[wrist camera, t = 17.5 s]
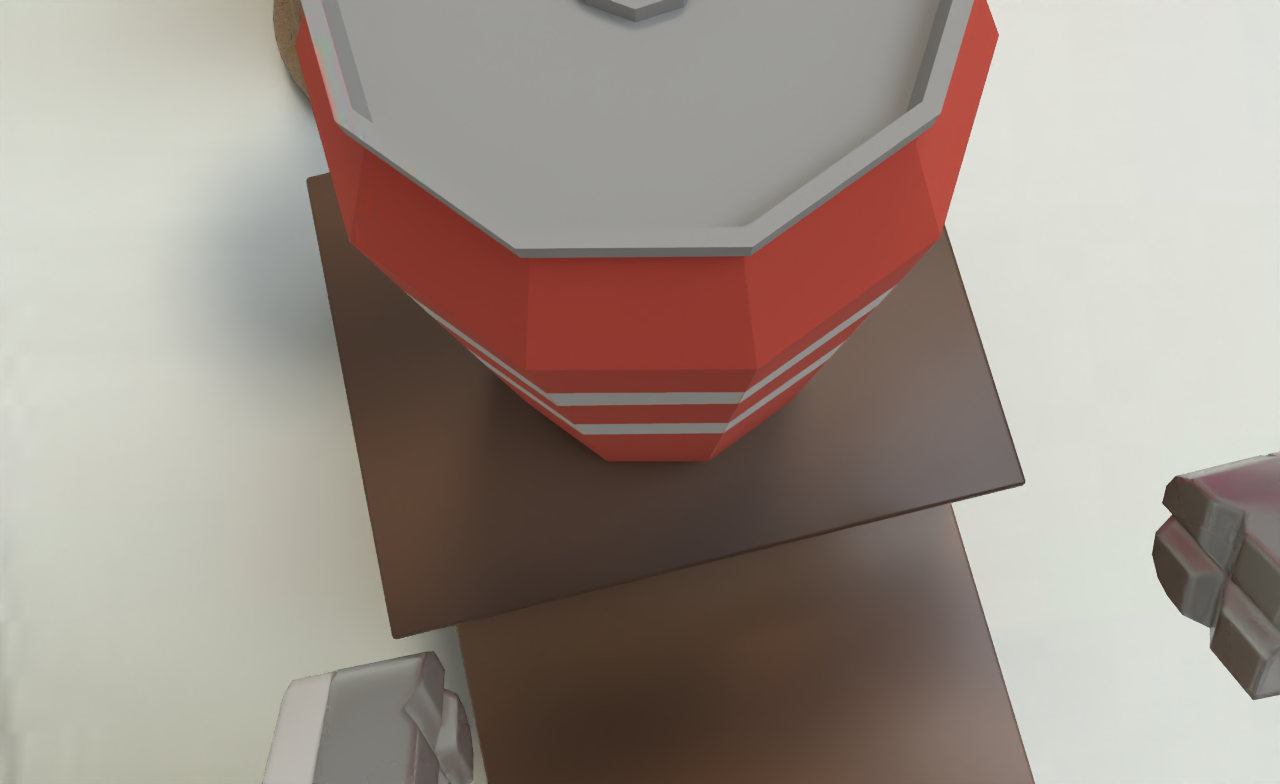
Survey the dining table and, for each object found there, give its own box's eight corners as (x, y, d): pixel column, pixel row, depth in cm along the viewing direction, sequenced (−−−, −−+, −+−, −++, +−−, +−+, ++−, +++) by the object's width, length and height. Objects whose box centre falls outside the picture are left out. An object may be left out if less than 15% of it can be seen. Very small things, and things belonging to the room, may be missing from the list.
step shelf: (988, 775, 25) (1161, 908, 16) (544, 885, 25) (474, 1079, 16) (818, 193, 28) (886, 35, 19) (420, 290, 28) (304, 177, 19)
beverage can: (747, 136, 19) (877, -540, 7) (849, 418, 18) (1208, 186, 6) (475, 222, 19) (140, -315, 7) (563, 510, 18) (345, 465, 6)
